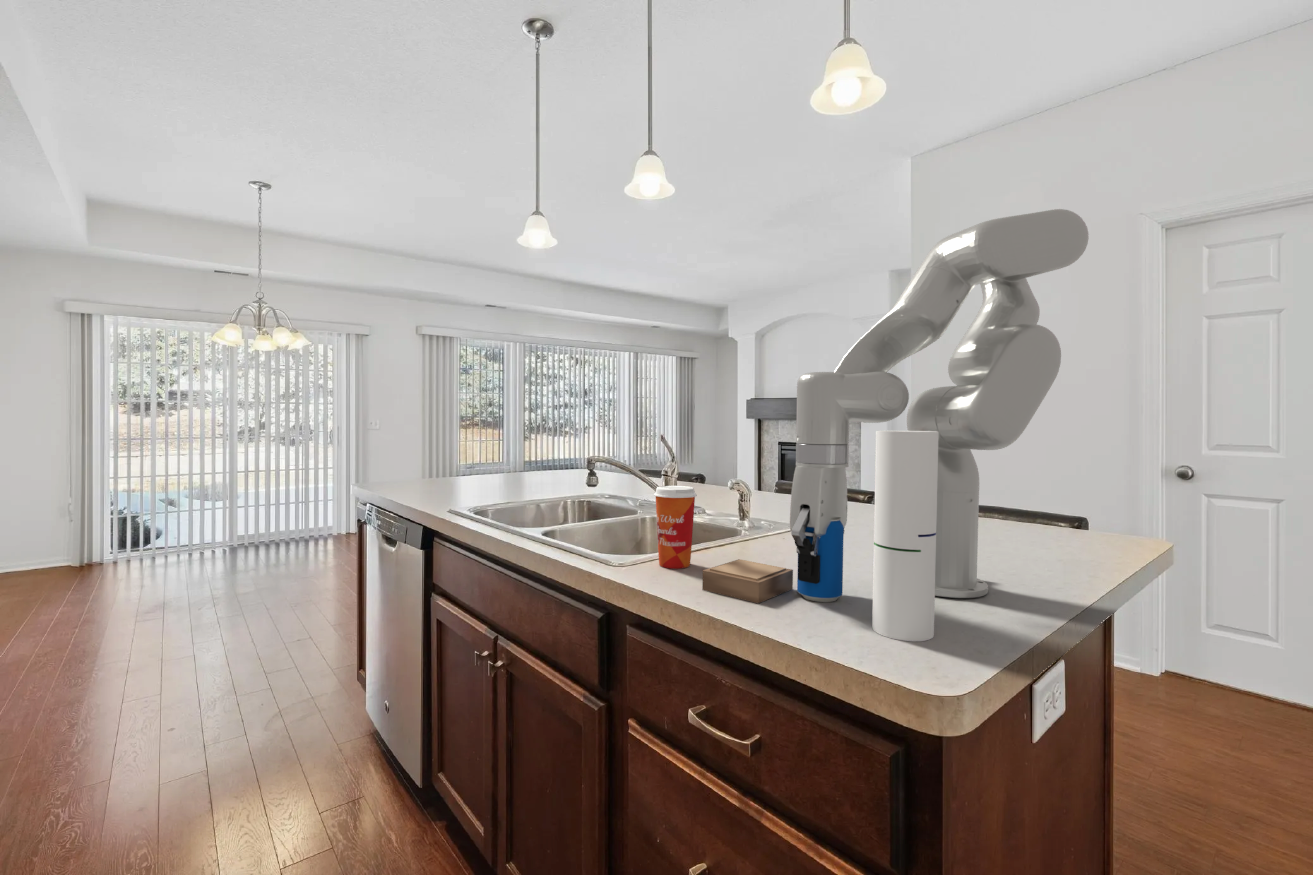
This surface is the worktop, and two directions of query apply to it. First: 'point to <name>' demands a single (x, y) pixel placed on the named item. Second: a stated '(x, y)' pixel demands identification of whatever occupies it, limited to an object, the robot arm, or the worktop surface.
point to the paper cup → (675, 525)
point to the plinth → (748, 580)
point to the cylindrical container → (905, 534)
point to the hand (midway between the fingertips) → (820, 575)
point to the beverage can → (827, 566)
